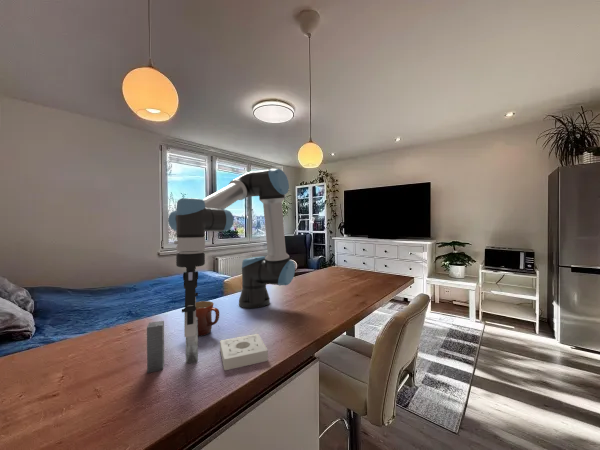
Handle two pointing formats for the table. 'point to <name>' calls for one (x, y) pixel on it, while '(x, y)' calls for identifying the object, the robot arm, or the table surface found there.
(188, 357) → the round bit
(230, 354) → the bore block
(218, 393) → the table surface
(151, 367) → the square bit
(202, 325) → the mug
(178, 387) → the table surface
